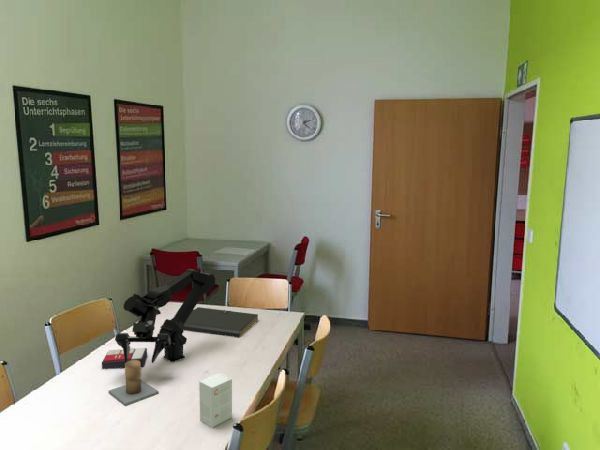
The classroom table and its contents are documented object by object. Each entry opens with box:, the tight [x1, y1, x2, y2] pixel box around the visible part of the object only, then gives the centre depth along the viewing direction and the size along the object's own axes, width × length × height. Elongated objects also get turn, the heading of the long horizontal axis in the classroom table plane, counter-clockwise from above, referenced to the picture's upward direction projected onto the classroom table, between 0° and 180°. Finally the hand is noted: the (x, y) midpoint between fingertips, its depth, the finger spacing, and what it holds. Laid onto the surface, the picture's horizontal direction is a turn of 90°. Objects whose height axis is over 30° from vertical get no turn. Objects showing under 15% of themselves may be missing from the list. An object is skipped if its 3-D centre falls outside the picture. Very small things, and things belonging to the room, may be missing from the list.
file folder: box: [184, 306, 259, 338], centre depth 232 cm, size 33×4×24 cm
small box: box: [198, 372, 233, 429], centre depth 149 cm, size 8×6×13 cm
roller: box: [124, 360, 142, 395], centre depth 164 cm, size 5×5×10 cm
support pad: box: [108, 379, 160, 407], centre depth 165 cm, size 12×12×1 cm
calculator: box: [101, 347, 148, 370], centre depth 189 cm, size 11×4×15 cm
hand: (139, 362), depth 170 cm, fingers open, 9 cm apart
